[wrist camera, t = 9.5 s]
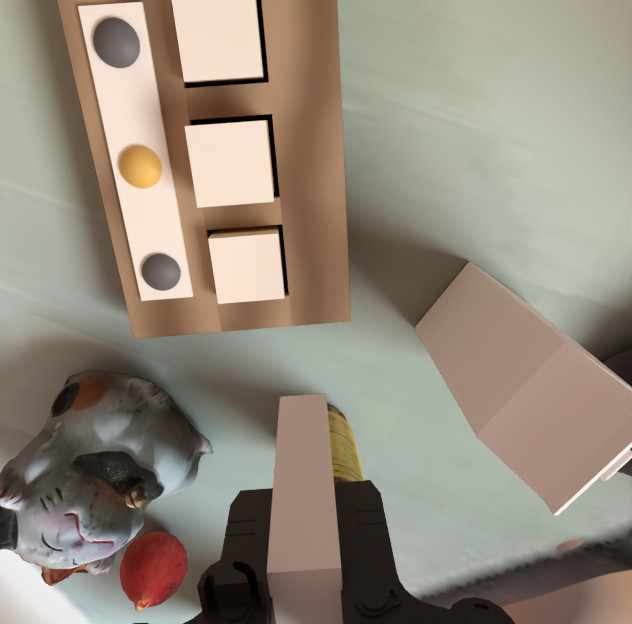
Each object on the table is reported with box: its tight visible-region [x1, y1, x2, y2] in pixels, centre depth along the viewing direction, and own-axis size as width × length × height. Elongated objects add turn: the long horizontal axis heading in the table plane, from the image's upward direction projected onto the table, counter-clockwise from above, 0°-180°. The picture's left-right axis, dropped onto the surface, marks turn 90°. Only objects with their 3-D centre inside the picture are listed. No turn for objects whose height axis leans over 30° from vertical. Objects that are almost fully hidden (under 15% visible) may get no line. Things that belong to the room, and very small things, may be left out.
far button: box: [208, 225, 284, 304], centre depth 35 cm, size 5×5×4 cm
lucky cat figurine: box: [0, 370, 214, 586], centre depth 39 cm, size 15×12×14 cm
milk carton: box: [415, 262, 632, 516], centre depth 33 cm, size 7×7×19 cm
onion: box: [120, 532, 188, 611], centre depth 45 cm, size 6×6×8 cm
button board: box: [57, 0, 351, 339], centre depth 34 cm, size 16×24×4 cm, turn 4°
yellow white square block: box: [172, 0, 265, 84], centre depth 30 cm, size 5×5×4 cm
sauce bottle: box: [327, 405, 364, 483], centre depth 36 cm, size 7×6×20 cm
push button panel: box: [78, 2, 193, 301], centre depth 32 cm, size 4×18×1 cm, turn 4°
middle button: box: [184, 120, 274, 208], centre depth 31 cm, size 5×5×4 cm
